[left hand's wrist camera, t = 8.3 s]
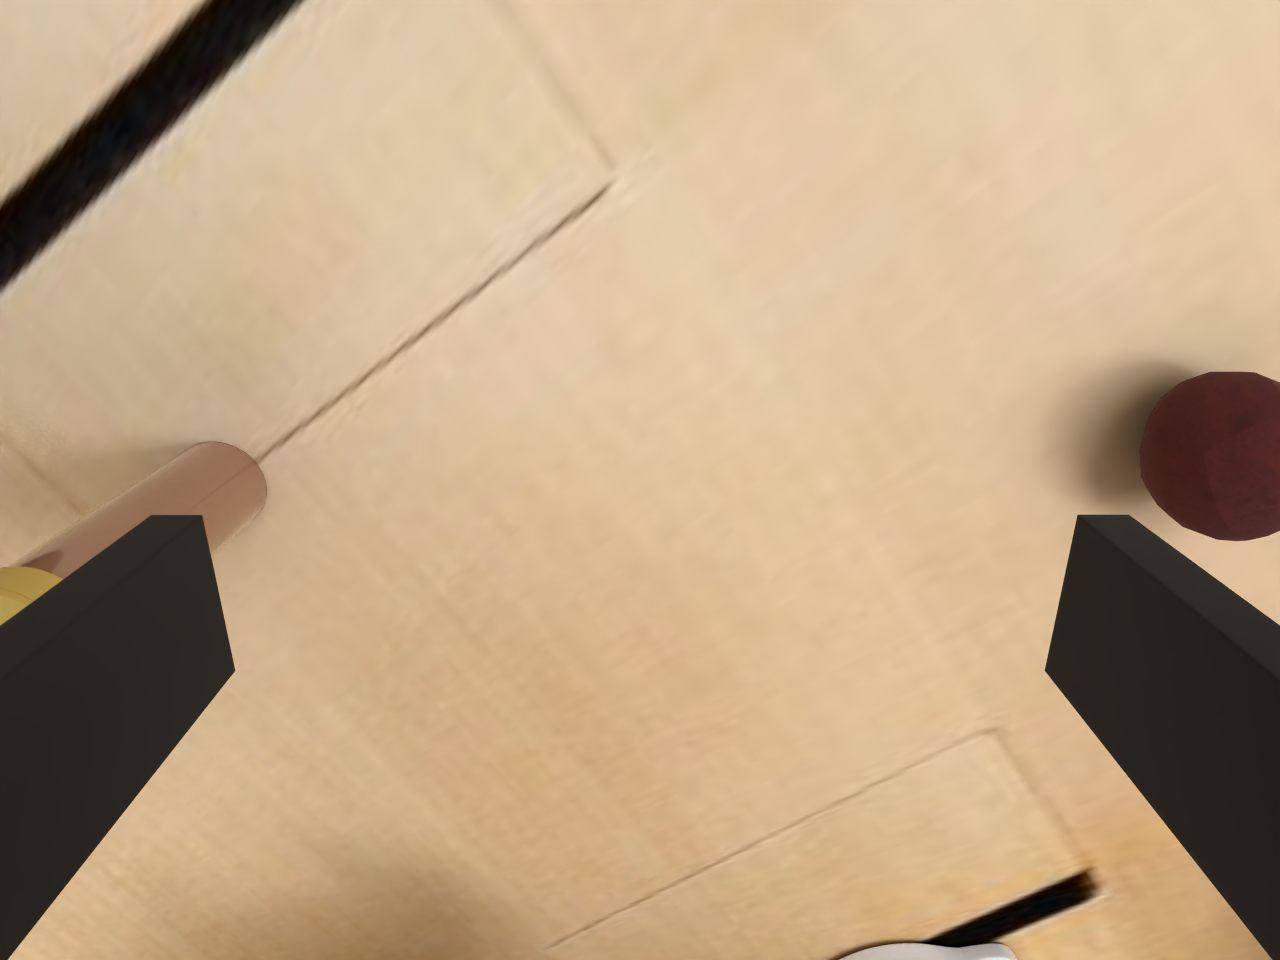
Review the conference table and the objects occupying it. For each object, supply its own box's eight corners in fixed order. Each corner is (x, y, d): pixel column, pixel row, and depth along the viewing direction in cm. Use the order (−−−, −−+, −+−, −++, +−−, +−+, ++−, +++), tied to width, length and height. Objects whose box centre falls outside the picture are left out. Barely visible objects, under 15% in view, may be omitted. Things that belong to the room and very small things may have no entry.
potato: (1142, 526, 43) (1233, 593, 36) (1083, 406, 40) (1169, 455, 34) (1282, 452, 41) (1404, 508, 35) (1230, 323, 39) (1350, 356, 32)
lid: (-43, 666, 30) (-85, 698, 28) (-35, 546, 28) (-80, 572, 26) (102, 705, 30) (68, 739, 29) (117, 590, 29) (83, 619, 27)
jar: (170, 509, 43) (-67, 686, 28) (182, 429, 41) (-62, 574, 27) (258, 536, 43) (70, 723, 29) (274, 458, 42) (84, 616, 27)
